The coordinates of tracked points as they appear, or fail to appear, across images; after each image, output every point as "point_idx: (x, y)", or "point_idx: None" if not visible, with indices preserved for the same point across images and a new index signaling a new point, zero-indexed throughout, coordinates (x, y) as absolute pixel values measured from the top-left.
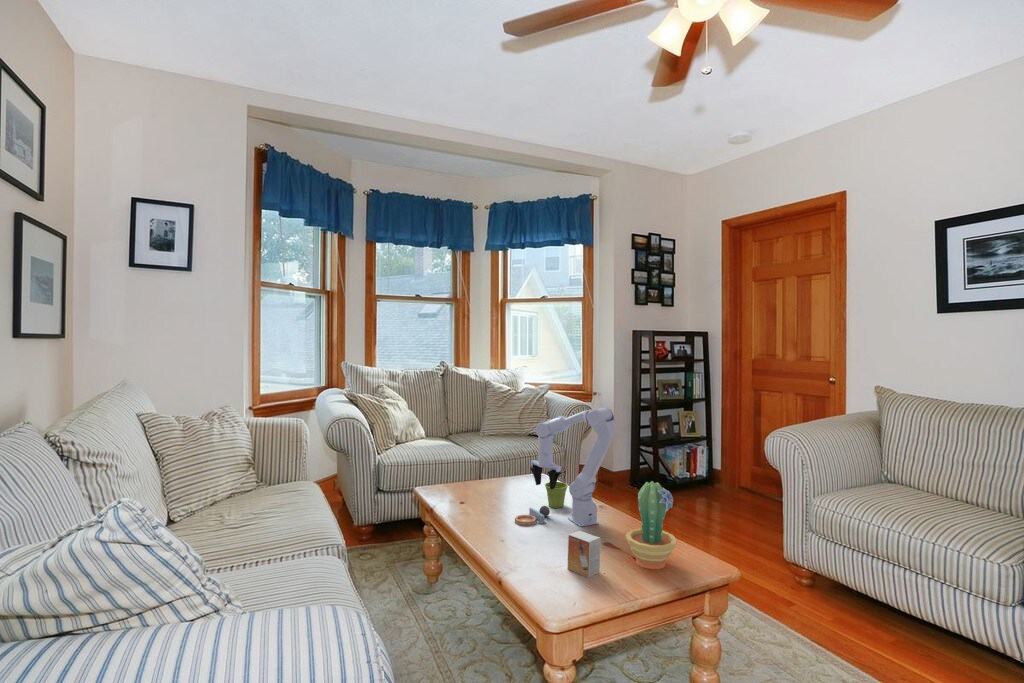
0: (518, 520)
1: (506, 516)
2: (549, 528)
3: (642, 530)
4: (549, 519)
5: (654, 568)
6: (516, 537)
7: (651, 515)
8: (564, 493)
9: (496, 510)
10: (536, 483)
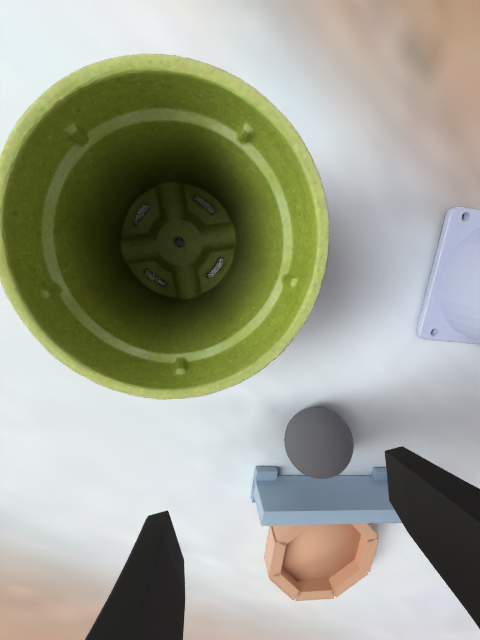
0: (329, 596)
1: (197, 586)
2: None
3: None
4: (358, 423)
5: None
6: (427, 626)
7: None
8: (268, 202)
9: (81, 600)
10: (179, 590)
